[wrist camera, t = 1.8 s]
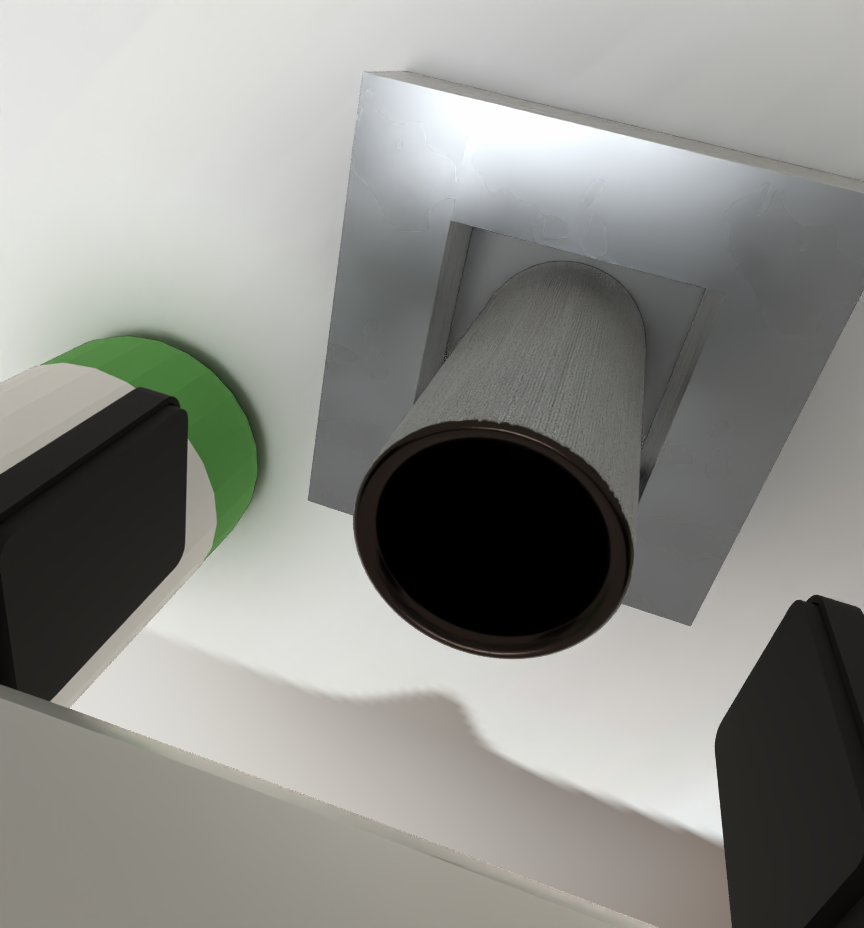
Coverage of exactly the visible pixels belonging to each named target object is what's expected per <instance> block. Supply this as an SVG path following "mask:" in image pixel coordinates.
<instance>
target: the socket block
mask: <svg viewBox="0 0 864 928" xmlns="http://www.w3.org/2000/svg"><path fill="white" fill-rule="evenodd" d="M472 227H477V228H481V229H484V230H488V231H492V232H496V233H499V234H503V235H507V236H511V237H514V238H518V239H522V240H526V241H529V242H533V243H537V244H541V245H544V246H548V247H552V248H556V249H559V250H563V251H567V252H571V253H574V254H578V255H582V256H586V257H589V258H593V259H597V260H601V261H604V262H608V263H612V264H616V265H619V266H623V267H627V268H631V269H634V270H638V271H642V272H646V273H649V274H653V275H657V276H661V277H664V278H668V279H672V280H676V281H680V282H683V283H687V284H691V285H695V286H698V287H702V288H706V290H705V292H704V295H703V297H702V300H701V302H700V305H699V307H698V310H697V312H696V315H695V318H694V320H693V323H692V325H691V328H690V330H689V333H688V335H687V338H686V340H685V343H684V345H683V348H682V350H681V353H680V355H679V358H678V360H677V363H676V365H675V368H674V370H673V373H672V375H671V378H670V380H669V383H668V385H667V388H666V390H665V393H664V395H663V398H662V400H661V403H660V405H659V408H658V410H657V413H656V415H655V418H654V420H653V423H652V425H651V428H650V430H649V433H648V435H647V438H646V441H645V443H644V446H643V448H642V451H641V458H640V478H639V498H638V518H637V538H636V555H635V564H634V572H633V576H632V580H631V584H630V587H629V589H628V592H627V594H626V596H625V598H624V600H623V602H622V604H624V605H627V606H631V607H634V608H637V609H640V610H643V611H646V612H649V613H652V614H655V615H658V616H661V617H664V618H667V619H670V620H673V621H676V622H679V623H682V624H685V625H688V626H691V625H692V623H693V621H694V619H695V617H696V615H697V613H698V611H699V609H700V607H701V605H702V603H703V601H704V599H705V597H706V595H707V593H708V592H709V590H710V588H711V586H712V584H713V582H714V580H715V578H716V576H717V574H718V572H719V570H720V568H721V566H722V564H723V562H724V560H725V558H726V556H727V555H728V553H729V551H730V549H731V547H732V545H733V543H734V541H735V539H736V537H737V535H738V533H739V531H740V529H741V527H742V525H743V523H744V521H745V519H746V517H747V516H748V514H749V512H750V510H751V508H752V506H753V504H754V502H755V500H756V498H757V496H758V494H759V492H760V490H761V488H762V486H763V484H764V482H765V480H766V479H767V477H768V475H769V473H770V471H771V469H772V467H773V465H774V463H775V461H776V459H777V457H778V455H779V453H780V451H781V449H782V447H783V445H784V443H785V442H786V440H787V438H788V436H789V434H790V432H791V430H792V428H793V426H794V424H795V422H796V420H797V418H798V416H799V414H800V412H801V410H802V408H803V406H804V405H805V403H806V401H807V399H808V397H809V395H810V393H811V391H812V389H813V387H814V385H815V383H816V381H817V379H818V377H819V375H820V373H821V371H822V369H823V367H824V366H825V364H826V362H827V360H828V358H829V356H830V354H831V352H832V350H833V348H834V346H835V344H836V342H837V340H838V338H839V336H840V334H841V332H842V330H843V329H844V327H845V325H846V323H847V321H848V319H849V317H850V315H851V313H852V311H853V309H854V307H855V305H856V303H857V301H858V299H859V297H860V295H861V293H862V292H863V290H864V181H860V180H856V179H852V178H848V177H844V176H839V175H835V174H831V173H827V172H823V171H819V170H814V169H810V168H806V167H802V166H798V165H794V164H790V163H785V162H781V161H777V160H773V159H769V158H765V157H760V156H756V155H752V154H748V153H744V152H740V151H735V150H731V149H727V148H723V147H719V146H715V145H710V144H706V143H702V142H698V141H694V140H690V139H685V138H681V137H677V136H673V135H669V134H665V133H660V132H656V131H652V130H648V129H644V128H640V127H636V126H631V125H627V124H623V123H619V122H615V121H611V120H606V119H602V118H598V117H594V116H590V115H586V114H581V113H577V112H573V111H569V110H565V109H561V108H556V107H552V106H548V105H544V104H540V103H536V102H531V101H527V100H523V99H519V98H515V97H511V96H506V95H502V94H498V93H494V92H490V91H486V90H482V89H477V88H473V87H469V86H465V85H461V84H457V83H452V82H448V81H444V80H440V79H436V78H432V77H427V76H423V75H419V74H415V73H411V72H407V71H383V72H363V74H362V81H361V89H360V97H359V105H358V113H357V120H356V128H355V136H354V144H353V152H352V159H351V167H350V175H349V183H348V191H347V198H346V206H345V214H344V222H343V230H342V237H341V245H340V253H339V261H338V269H337V276H336V284H335V292H334V300H333V308H332V315H331V323H330V331H329V339H328V347H327V355H326V362H325V370H324V378H323V386H322V394H321V401H320V409H319V417H318V425H317V433H316V440H315V448H314V456H313V464H312V472H311V479H310V487H309V495H308V501H311V502H314V503H317V504H320V505H323V506H326V507H329V508H332V509H335V510H338V511H342V512H345V513H348V514H351V515H353V514H354V505H355V499H356V496H357V492H358V489H359V486H360V484H361V481H362V479H363V477H364V475H365V473H366V472H367V470H368V468H369V467H370V465H371V464H372V462H373V461H374V459H375V458H376V456H377V455H378V454H379V452H380V451H381V449H382V448H383V447H384V445H385V444H386V443H387V441H388V440H389V438H390V437H391V436H392V434H393V433H394V431H395V430H396V429H397V427H398V426H399V425H400V423H401V422H402V420H403V419H404V418H405V416H406V415H407V414H408V412H409V411H410V409H411V408H412V407H413V405H414V404H415V403H416V401H417V400H418V398H419V397H420V396H421V394H422V393H423V391H424V390H425V389H426V387H427V386H428V385H429V383H430V382H431V380H432V379H433V378H434V376H435V375H436V374H437V372H438V371H439V369H440V368H441V367H442V365H443V360H444V355H445V351H446V346H447V342H448V337H449V333H450V328H451V323H452V319H453V314H454V310H455V305H456V301H457V296H458V291H459V287H460V282H461V278H462V273H463V269H464V264H465V259H466V255H467V250H468V246H469V241H470V236H471V232H472Z"/></svg>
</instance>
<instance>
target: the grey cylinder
mask: <svg viewBox="0 0 864 928" xmlns="http://www.w3.org/2000/svg"><path fill="white" fill-rule="evenodd" d="M645 359H646V339H645V331H644V325H643V321H642V318H641V314H640V312H639V310H638V307H637V306H636V304H635V302H634V300H633V299H632V297H631V296H630V294H629V293H628V292H627V290H626V289H625V288H624V287H623V286H622V285H621V284H620V283H619V282H617V281H616V280H615V279H614V278H612V277H611V276H609V275H608V274H607V273H605V272H603V271H601V270H599V269H597V268H594V267H592V266H589V265H585V264H582V263H577V262H568V261H556V262H548V263H543V264H539V265H536V266H533V267H530V268H528V269H526V270H524V271H522V272H520V273H518V274H517V275H515V276H514V277H512V278H511V279H510V280H508V281H507V282H506V283H505V284H504V285H503V286H502V287H501V288H500V289H499V290H498V291H497V292H496V293H495V294H494V295H493V296H492V298H491V299H490V300H489V302H488V303H487V305H486V306H485V307H484V309H483V310H482V311H481V313H480V314H479V316H478V317H477V318H476V320H475V321H474V323H473V324H472V325H471V327H470V328H469V329H468V331H467V332H466V334H465V335H464V336H463V338H462V339H461V340H460V342H459V343H458V345H457V346H456V347H455V349H454V350H453V351H452V353H451V354H450V356H449V357H448V358H447V360H446V361H445V363H444V364H443V365H442V367H441V368H440V369H439V371H438V372H437V374H436V375H435V376H434V378H433V379H432V380H431V382H430V383H429V385H428V386H427V387H426V389H425V390H424V391H423V393H422V394H421V396H420V397H419V398H418V400H417V401H416V403H415V404H414V405H413V407H412V408H411V409H410V411H409V412H408V414H407V415H406V416H405V418H404V419H403V420H402V422H401V423H400V425H399V426H398V427H397V429H396V430H395V431H394V433H393V434H392V436H391V437H390V438H389V440H388V441H387V443H386V444H385V445H384V447H383V448H382V449H381V451H380V452H379V454H378V455H377V456H376V458H375V459H374V461H373V462H372V464H371V465H370V467H369V468H368V470H367V472H366V473H365V475H364V477H363V479H362V481H361V484H360V486H359V489H358V492H357V496H356V499H355V505H354V514H353V529H354V538H355V543H356V547H357V551H358V555H359V557H360V560H361V563H362V565H363V568H364V570H365V572H366V574H367V576H368V578H369V580H370V581H371V583H372V584H373V586H374V588H375V589H376V590H377V592H378V593H379V594H380V596H381V597H382V598H383V599H384V601H385V602H386V603H387V604H388V605H389V606H390V607H391V608H392V609H393V610H394V611H395V612H396V613H397V614H398V615H399V616H400V617H401V618H402V619H404V620H405V621H406V622H407V623H408V624H410V625H411V626H413V627H414V628H415V629H417V630H418V631H420V632H422V633H423V634H425V635H426V636H428V637H430V638H432V639H434V640H436V641H438V642H440V643H442V644H444V645H446V646H449V647H451V648H454V649H457V650H460V651H463V652H466V653H470V654H474V655H478V656H483V657H490V658H499V659H526V658H535V657H541V656H546V655H550V654H554V653H557V652H560V651H563V650H566V649H568V648H570V647H573V646H575V645H577V644H579V643H580V642H582V641H584V640H586V639H587V638H589V637H590V636H592V635H593V634H595V633H596V632H597V631H598V630H599V629H601V628H602V627H603V626H604V625H605V624H606V623H607V622H608V621H609V620H610V619H611V617H612V616H613V615H614V614H615V613H616V611H617V610H618V608H619V607H620V605H621V604H622V602H623V600H624V598H625V596H626V594H627V592H628V589H629V587H630V584H631V580H632V576H633V572H634V564H635V555H636V538H637V518H638V498H639V478H640V458H641V438H642V418H643V398H644V378H645Z"/></svg>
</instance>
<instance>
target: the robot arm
mask: <svg viewBox="0 0 864 928" xmlns="http://www.w3.org/2000/svg"><path fill="white" fill-rule="evenodd" d="M187 453H188V414H187V412H186V411H185V410H184V409H181V408H180V404H179V401H178V399H177V398H176V397H173V396H170V395H167V394H164V393H160V392H157V391H154V390H151V389H147V388H144V387H138V388H136V389H134V390H132V391H130V392H129V393H127V394H126V395H124V396H123V397H121V398H119V399H118V400H116V401H115V402H113V403H112V404H110V405H108V406H107V407H105V408H104V409H102V410H101V411H99V412H97V413H96V414H94V415H93V416H91V417H89V418H88V419H86V420H85V421H83V422H82V423H80V424H78V425H77V426H75V427H74V428H72V429H71V430H69V431H67V432H66V433H64V434H63V435H61V436H60V437H58V438H56V439H55V440H53V441H52V442H50V443H49V444H47V445H45V446H44V447H42V448H41V449H39V450H37V451H36V452H34V453H33V454H31V455H30V456H28V457H26V458H25V459H23V460H22V461H20V462H19V463H17V464H15V465H14V466H12V467H11V468H9V469H8V470H6V471H4V472H3V473H1V474H0V928H658V927H656V926H653V925H651V924H648V923H645V922H643V921H640V920H638V919H635V918H632V917H630V916H627V915H624V914H622V913H619V912H616V911H614V910H611V909H608V908H606V907H603V906H600V905H598V904H595V903H592V902H590V901H587V900H585V899H582V898H579V897H576V896H574V895H571V894H569V893H566V892H563V891H561V890H558V889H555V888H553V887H550V886H547V885H545V884H542V883H539V882H537V881H534V880H531V879H529V878H526V877H523V876H521V875H518V874H516V873H513V872H510V871H508V870H505V869H502V868H500V867H497V866H494V865H492V864H489V863H486V862H484V861H481V860H478V859H476V858H473V857H470V856H468V855H465V854H463V853H459V852H457V851H455V850H452V849H449V848H446V847H444V846H441V845H438V844H436V843H433V842H430V841H428V840H425V839H422V838H420V837H417V836H414V835H412V834H409V833H406V832H403V831H401V830H398V829H395V828H393V827H390V826H387V825H385V824H382V823H379V822H377V821H374V820H371V819H368V818H365V817H363V816H360V815H358V814H355V813H352V812H349V811H347V810H344V809H342V808H339V807H336V806H334V805H331V804H328V803H325V802H323V801H320V800H317V799H315V798H312V797H309V796H307V795H304V794H301V793H298V792H296V791H293V790H290V789H288V788H285V787H282V786H279V785H277V784H274V783H271V782H269V781H266V780H263V779H261V778H258V777H255V776H252V775H250V774H247V773H244V772H242V771H239V770H236V769H234V768H231V767H228V766H225V765H223V764H220V763H217V762H214V761H212V760H209V759H206V758H203V757H201V756H198V755H195V754H192V753H190V752H187V751H184V750H181V749H178V748H176V747H173V746H170V745H168V744H165V743H162V742H159V741H157V740H154V739H151V738H149V737H146V736H143V735H140V734H138V733H135V732H132V731H129V730H127V729H124V728H121V727H118V726H116V725H113V724H110V723H107V722H105V721H102V720H99V719H96V718H94V717H91V716H88V715H85V714H83V713H80V712H77V711H75V710H72V709H69V708H66V707H64V706H61V705H58V704H55V703H52V702H50V701H51V700H52V699H53V698H54V697H55V696H56V695H57V694H58V693H59V692H60V691H61V690H62V688H63V687H64V686H65V685H66V684H67V683H68V682H69V681H70V680H71V679H72V678H73V677H74V676H75V675H76V673H77V672H78V671H79V670H80V669H81V668H82V667H83V666H84V665H85V664H86V663H87V662H88V661H89V660H90V659H91V657H92V656H93V655H94V654H95V653H96V652H97V651H98V650H99V649H100V648H101V647H102V646H103V645H104V644H105V643H106V641H107V640H108V639H109V638H110V637H111V636H112V635H113V634H114V633H115V632H116V631H117V630H118V629H119V628H120V626H121V625H122V624H123V623H124V622H125V621H126V620H127V619H128V618H129V617H130V616H131V615H132V614H133V613H134V612H135V610H136V609H137V608H138V607H139V606H140V605H141V604H142V603H143V602H144V601H145V600H146V599H147V598H148V597H149V595H150V594H151V593H152V592H153V591H154V590H155V589H156V588H157V587H158V586H159V585H160V584H161V583H162V582H163V581H164V579H165V578H166V577H167V576H168V575H169V574H170V573H171V572H172V571H173V570H174V569H175V568H176V566H177V565H178V564H179V562H180V560H181V558H182V556H183V553H184V549H185V535H186V494H187ZM715 757H716V767H717V778H718V788H719V798H720V809H721V819H722V829H723V839H724V849H725V860H726V869H727V880H728V891H729V901H730V911H731V921H732V928H864V614H863V612H862V611H861V609H860V608H858V607H856V606H852V605H849V604H846V603H843V602H839V601H836V600H833V599H830V598H826V597H823V596H820V595H813V596H812V597H810V598H809V599H808V600H807V601H806V602H805V601H801V600H796V601H795V602H794V603H793V604H792V605H791V606H790V608H789V610H788V611H787V613H786V615H785V616H784V618H783V620H782V621H781V623H780V625H779V626H778V628H777V630H776V631H775V633H774V635H773V636H772V638H771V640H770V641H769V643H768V645H767V646H766V648H765V650H764V651H763V653H762V655H761V656H760V658H759V660H758V661H757V663H756V665H755V666H754V668H753V670H752V671H751V673H750V675H749V676H748V678H747V680H746V681H745V683H744V685H743V686H742V688H741V690H740V692H739V693H738V695H737V697H736V698H735V700H734V702H733V703H732V705H731V707H730V708H729V710H728V712H727V713H726V715H725V717H724V718H723V720H722V722H721V724H720V726H719V728H718V731H717V734H716V739H715Z"/></svg>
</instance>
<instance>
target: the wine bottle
mask: <svg viewBox="0 0 864 928" xmlns="http://www.w3.org/2000/svg"><path fill="white" fill-rule="evenodd" d="M138 387H144V388H147V389H151V390H154V391H157V392H160V393H164V394H167V395H170V396H173V397H176V398H177V399H178V401H179V404H180V408H181V409H184V410H185V411H186V412H187V414H188V453H187V494H186V535H185V549H184V553H183V556H182V558H181V560H180V562H179V564H178V565H177V566H176V568H175V569H174V570H173V571H172V572H171V573H170V574H169V575H168V576H167V577H166V578H165V579H164V581H163V582H162V583H161V584H160V585H159V586H158V587H157V588H156V589H155V590H154V591H153V592H152V593H151V594H150V595H149V597H148V598H147V599H146V600H145V601H144V602H143V603H142V604H141V605H140V606H139V607H138V608H137V609H136V610H135V612H134V613H133V614H132V615H131V616H130V617H129V618H128V619H127V620H126V621H125V622H124V623H123V624H122V625H121V626H120V628H119V629H118V630H117V631H116V632H115V633H114V634H113V635H112V636H111V637H110V638H109V639H108V640H107V641H106V643H105V644H104V645H103V646H102V647H101V648H100V649H99V650H98V651H97V652H96V653H95V654H94V655H93V656H92V657H91V659H90V660H89V661H88V662H87V663H86V664H85V665H84V666H83V667H82V668H81V669H80V670H79V671H78V672H77V673H76V675H75V676H74V677H73V678H72V679H71V680H70V681H69V682H68V683H67V684H66V685H65V686H64V687H63V688H62V690H61V691H60V692H59V693H58V694H57V695H56V696H55V697H54V698H53V699H52V700H51V701H50V702H52V703H55V704H58V705H61V706H64V707H66V708H70V707H71V706H72V705H73V704H74V703H75V702H76V700H77V699H78V698H79V697H80V696H81V695H82V694H83V693H84V692H85V691H86V690H87V689H88V687H89V686H90V685H91V684H92V683H93V682H94V681H95V680H96V679H97V678H98V677H99V675H100V674H101V673H102V672H103V671H104V670H105V669H106V668H107V667H108V666H109V665H110V664H111V663H112V661H113V660H114V659H115V658H116V657H117V656H118V655H119V654H120V653H121V652H122V651H123V650H124V648H125V647H126V646H127V645H128V644H129V643H130V642H131V641H132V640H133V639H134V637H135V636H136V635H137V634H138V633H139V632H140V631H141V630H142V629H143V628H144V627H145V626H146V625H147V624H148V622H149V621H150V620H151V619H152V618H153V617H154V616H155V615H156V614H157V613H158V612H159V611H160V609H161V608H162V607H163V606H164V605H165V604H166V603H167V602H168V601H169V600H170V599H171V598H172V596H173V595H174V594H175V593H176V592H177V591H178V590H179V589H180V588H181V587H182V586H183V584H184V583H185V582H186V581H187V580H188V579H189V578H190V577H191V576H192V575H193V574H194V573H195V571H196V570H197V569H198V568H199V567H200V566H201V564H202V563H203V561H204V560H205V559H206V558H207V557H208V556H209V555H210V554H211V553H212V552H213V551H214V549H215V548H216V547H217V546H218V545H219V544H220V543H221V542H222V541H223V540H224V539H225V538H226V536H227V535H228V534H229V533H230V532H231V531H232V530H233V529H234V527H235V526H236V524H237V523H238V521H239V520H240V518H241V517H242V515H243V513H244V512H245V510H246V509H247V507H248V505H249V504H250V502H251V499H252V495H253V491H254V486H255V482H256V478H257V473H258V471H257V455H256V444H255V441H254V438H253V435H252V432H251V429H250V426H249V423H248V420H247V418H246V416H245V414H244V412H243V411H242V409H241V407H240V406H239V404H238V402H237V401H236V399H235V397H234V395H233V394H232V393H231V392H230V390H229V389H228V388H227V387H226V386H225V385H224V384H223V383H222V382H221V381H220V379H219V378H218V377H217V376H216V375H215V374H214V373H213V372H212V371H211V370H210V369H208V368H207V367H206V366H204V365H203V364H201V363H200V362H199V361H197V360H196V359H195V358H193V357H192V356H190V355H189V354H188V353H185V352H183V351H181V350H179V349H176V348H174V347H172V346H170V345H167V344H165V343H163V342H160V341H156V340H150V339H144V338H138V337H132V336H121V337H114V338H106V339H98V340H93V341H90V342H87V343H84V344H82V345H80V346H78V347H76V348H74V349H72V350H70V351H68V352H66V353H64V354H62V355H60V356H58V357H56V358H54V359H52V360H49V361H47V362H45V363H43V364H41V365H39V366H35V367H33V368H30V369H28V370H26V371H24V372H22V373H20V374H18V375H16V376H14V377H12V378H10V379H8V380H6V381H4V382H2V383H0V474H1V473H3V472H4V471H6V470H8V469H9V468H11V467H12V466H14V465H15V464H17V463H19V462H20V461H22V460H23V459H25V458H26V457H28V456H30V455H31V454H33V453H34V452H36V451H37V450H39V449H41V448H42V447H44V446H45V445H47V444H49V443H50V442H52V441H53V440H55V439H56V438H58V437H60V436H61V435H63V434H64V433H66V432H67V431H69V430H71V429H72V428H74V427H75V426H77V425H78V424H80V423H82V422H83V421H85V420H86V419H88V418H89V417H91V416H93V415H94V414H96V413H97V412H99V411H101V410H102V409H104V408H105V407H107V406H108V405H110V404H112V403H113V402H115V401H116V400H118V399H119V398H121V397H123V396H124V395H126V394H127V393H129V392H130V391H132V390H134V389H136V388H138Z"/></svg>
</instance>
